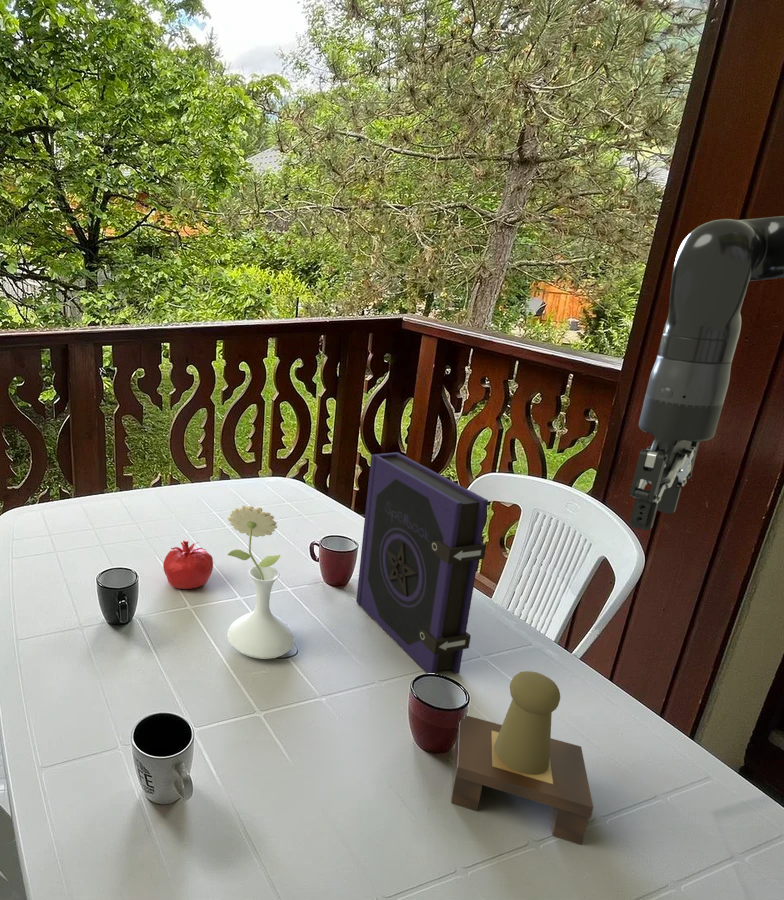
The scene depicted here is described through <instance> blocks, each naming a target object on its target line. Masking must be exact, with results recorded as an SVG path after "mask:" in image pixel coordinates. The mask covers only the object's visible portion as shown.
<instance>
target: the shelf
mask: <svg viewBox="0 0 784 900" xmlns="http://www.w3.org/2000/svg"><path fill="white" fill-rule="evenodd" d="M465 715H466V717H465V719H462V720H460V722H459V721H458V723H459V727H458V726H457V730H458V732H457V731H456V736H457V738H456V737H455V741H454V742H455V743H454V749H453V757H452V758H453V759H452V774H451V776H452V777H451V794H450V803H451V804H453V805H456V806H460V807H464V808H466V809H470V810H473V811H475V812H478V809H479V804H480V799H481V795H482V790H483V786H485V787H487V788H491V789H494V790H497V791H500V792H504V793H506V794H511V795H514V796H518V797H520V798H522V799H523V798H524V799H526V800H527V799H528V800H530V801H533V802H537V803H540V804H543V805H547V806H548V810H549V818H550V826H551V834H552V836H553V837H556V838H559V839H562V840H565V841H569V842H572V843H575V844H577V845H581V846H582V845H583V843H584V838H585V834H586V830H587V827H588V824H589V819H591V818H592V814H593V812H594V805H593V799H592V794H591V789H590V783H589V779H588V775H587V769H586V765H585V764H586V763H585V758H584V753H583V748H582V746H581V745H577V744H573V743H569V742H567V741H563V740H559V739H555V738H552V737H551V738H550V760H549V767H548V770H547V771H545V772H544V773H542V774H538V775H531V774H525V773H521V772H518V771H516V770H514V769H512V768H510V767H509V766H507V765H506V764H504V763H503V762H502V761H501V760H500V759H499V758H498V756H497V755H496V753H495V750H494V745H495V742H496V739H497V737H498V734H499V732H500V729H501V727H502V724H500V723H496V722H492V721H488V720H484V719H481V718H478V717H474V716H470V715H467V714H465Z"/></svg>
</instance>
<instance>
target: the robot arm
mask: <svg viewBox="0 0 784 900" xmlns="http://www.w3.org/2000/svg"><path fill="white" fill-rule="evenodd" d="M674 260H675V261H674V264H673V270H672V274H671V275H672V276H671V282H670V292H669V306H668V314H667V318H666V322H665V324H664V327H663V331H662V335H661V339H660V343H659V347H658V351H657V355H656V359H655V362H654V364H653V366H652V369H651V372H650V375H649V379H648V383H647V387H646V390H645V391H646V392H645V395H644V398H643V403H642V407H641V412H640V417H639V421H638V428H639V429H640V430H641V431H642V432H644V433H646V434H650V435H652V436H653V437H654V438H653V439H654V440H653V441H652V444H651V446H647V448H641V450H640V451H639V453H638V458H637V462H636V466H635V471H634V474H633V477H632V481H631V486H630V489H629V491H628V494H629V495H628V496H629V497H632V498H635V499H634V503H633V508H632V512H631V515H630V519H629V525H630V526H631V527H632V528H636V529H639V530H641V531H645V532H646V531H650V530H651V529H652V528H653V526H654V522H655V518H656V514H657V512H661V513H665V514H668V515H673V514H674V513H675V512H676V510H677V507H678V503H679V499H680V496H681V491H682V487H685V485H686V484H687V480H689V479H690V478H692V476H693V469H694V466H695V461H696V458H697V454H698V450H699V446H700V443H701V442H706V441H709V440H712V439H713V438H714V437H715V435H716V433H717V428H718V424H719V421H720V417H721V414H722V409H723V407H724V403H725V399H726V396H727V392H728V389H729V385H730V379H731V369H732V363H733V359H734V356H735V352H736V349H737V346H738V345H737V344H738V342H739V338H740V334H741V329H742V315H741V311H742V306H743V303H744V299H745V297H746V294H747V290H748V287H749V283H750V282H755V281H756V282H757V281H766V280H775V279H776V280H777V279H784V215H780V216H768V217H759V218H748V219H733V218H719V219H713V220H711V221H707V222H705V223H703V224H700V225H699V226H696V227H695V228H694V229H693V230H691V231H690V232H689V233H688V235H687V236H685V238H684V239H683V240H682V241H681V243H680V245H679V248H678V249H677V253H676V256H675V259H674ZM647 485H651V486H650V490H649V489H645V487H646V486H647Z"/></svg>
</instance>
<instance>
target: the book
mask: <svg viewBox="0 0 784 900" xmlns="http://www.w3.org/2000/svg"><path fill="white" fill-rule="evenodd" d="M367 484H368V485H367V495H366V503H365V512H364V520H363V521H364V522H363V523H364V524H363V533H362V534H363V535H362V541H361V543H362V544H361V550H360V551H361V552H360V560H359V561H360V562H359V571H358V580H357V591H356V598H355V599H356V600H355V602H356V603H357V604H358V605H359V606H360V607H361V609H362V610H363V611H364V612H365V613H366V614H367V615H368V616H369V617H371V619H372V620H373V621H375V622H376V624H377V625H378V626H379V627H381V628H382V630H384V632H385V633H386V634H387V635H388V636H389V637H390V638H391V639H392V640H393V641H394V642H395V643H396V644H397V645H398V646H399V647H400V648H401V649H402V650H403V651H404V652H405V653H406V654H407V655H408V656H409V657H410V658H411V659H412V660H413V662H415V663H416V664H417V665H418V667H420V668H421V669H422V670H423V671H424V672H425V673H426V674H427V673H436V674H437V672H439V671H443V670H449V669H450V670H451V671H452V672H453V673H455V675H457V674H460V672H461V671H460V670H461V664H462V659H463V652H464V650H467V649H469V648H470V643H471V637H472V635H471V634H470V633H468V632H467V629H468V623H469V618H470V617H469V616H470V611H471V604H472V599H473V592H474V586H475V581H476V575H477V569H478V562H479V560H484V559H485V556H486V549H487V544H486V543H485V542H483V541H482V539H483V533H484V527H485V521H486V515H487V510H488V504H489V500H488V499H486V498H484V497H483V496H481V495H479V494H477V493H475V492H474V491H472V490H469V489H468V488H466V487H464V486H463V485H460V484H458V483H457V482H455V481H453V480H451V479H449V478H447V477H446V476H444V475H442V474H440V473H438V472H436V471H434V470H432V469H431V468H428V467H427V466H425V465H423V464H420V462H419V463H418V462H417V461H415V460H413V459H412V458H409V457H408V456H405V455H404V454H401V453H400V452H388V453H386V452H385V453H375V454H371V456H370V465H369V474H368V482H367Z"/></svg>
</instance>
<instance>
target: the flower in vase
mask: <svg viewBox="0 0 784 900" xmlns="http://www.w3.org/2000/svg"><path fill="white" fill-rule="evenodd" d="M274 519H275V516H274V515H271V513H270V512H269V511H266V512H264V511H263V508H262V507H260V506H259V507H257V508H255V507H254V506H251V505H250V506H248V507H247V505H241V507H240V508H238V507H235V508H234V510H231V513H230V514H229V516H228V517H227V521H229V522H230V523H229V524H230V526H232V528H233V530H235V531H238V532H239V533H240V534H245V535H246V536H248V537H249V540H248V552H245V551H244V550H242V549H233V550H231V551H230V552H228V553H227V556H230V557H234V558H237V559H238V560H241V561H247V560H249V559H250V558H251V560H252V562H253V564H254V565H255V566H254V567H252V568H250V569H249V570H248V575H249V577H250V578H251V580H252V581H253V584H254V589H255V606H254V609H253V610H252V611H251V612H248V613H246V614H243V615H242V616H240V617H238V618H237V619H236V620H234V621H233V622H232V623H231V625H230V626H229V628H228V630H227V633H226V634H227V636H226V637H227V640H228V642H229V643H230V645H231V647H233V648H234V650H236V651H237V652H238V653H240V654H242V655H244V656H247V657H250V658H254V659H261V660H269V659H275V658H279V657H282V656H284V655H286V654H287V653H288V652H289V651H290V650H291V649H292V648H293V647H294V644H295V641H296V639H295V634H294V632H293V629H292V628H291V627H290V625H289V624H288V623H287V622H285V621H284V620H283V619H281V618H280V617H278V616H277V615H275V614H274V613H273V612H272V611H271V609H270V598H271V592H272V588H273V585H274V583H275V582H276V580H277V579H279V577H280V572H279V571H278V569H276V568H274V567H272V565H275V564H276V562H278V561H279V559H280V558H281V556H282V554H276V555H267V556H265V557H264V558H263V559H261V561H259V563H258V562H257V561H256V560H255V558H254V556H253V554H252V550H251V549H252V537H255V538H259V537H265V536H271V535H273V532H275V529H277V528H278V526H277V524H278V523H277V522H276V521H275V520H274Z"/></svg>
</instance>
